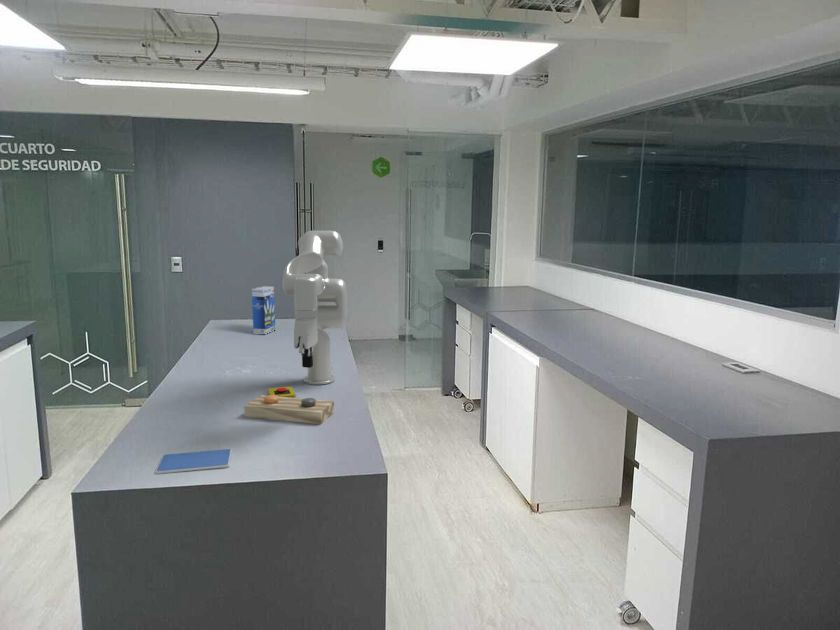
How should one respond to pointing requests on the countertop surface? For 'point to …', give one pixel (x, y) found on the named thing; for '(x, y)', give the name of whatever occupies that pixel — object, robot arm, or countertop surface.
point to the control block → (289, 410)
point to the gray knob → (308, 402)
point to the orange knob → (271, 399)
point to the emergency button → (282, 392)
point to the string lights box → (263, 310)
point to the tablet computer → (194, 461)
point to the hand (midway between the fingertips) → (307, 366)
